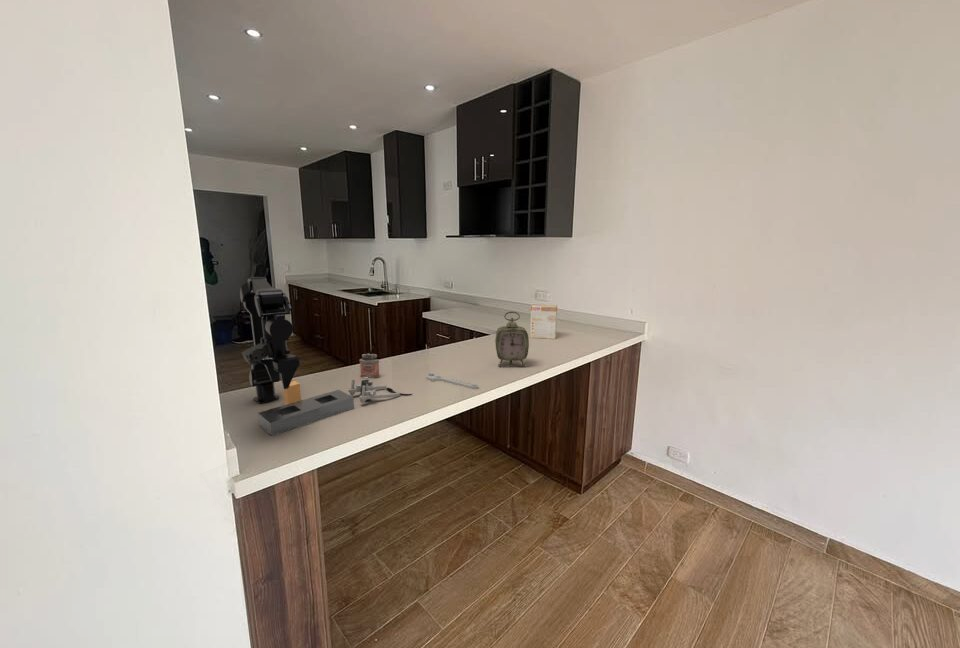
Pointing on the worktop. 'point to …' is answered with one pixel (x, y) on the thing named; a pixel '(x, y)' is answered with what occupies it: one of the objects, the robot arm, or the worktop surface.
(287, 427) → the block with square holes
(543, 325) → the coffeecake box
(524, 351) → the tabletop clock
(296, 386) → the square peg
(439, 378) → the adjustable wrench
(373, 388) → the bike brake
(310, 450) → the worktop surface
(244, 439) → the worktop surface
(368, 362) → the red labelled jar
